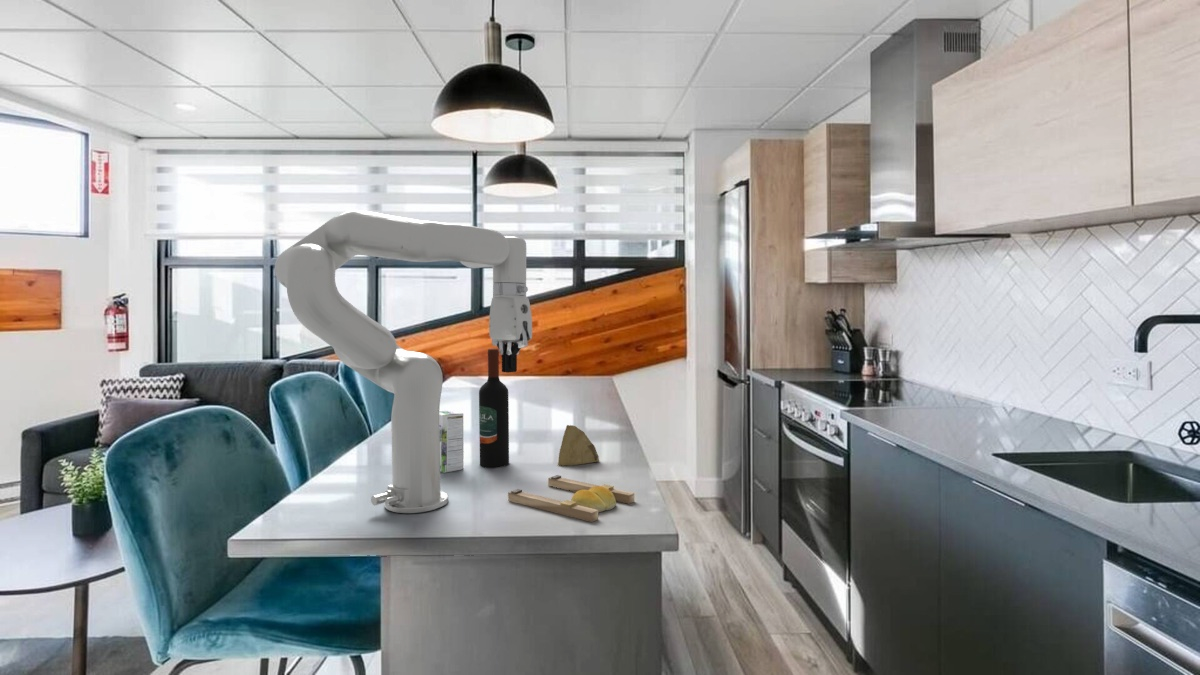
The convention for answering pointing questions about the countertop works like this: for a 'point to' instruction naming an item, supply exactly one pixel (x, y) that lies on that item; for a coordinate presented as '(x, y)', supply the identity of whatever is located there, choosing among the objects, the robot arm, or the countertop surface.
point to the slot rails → (567, 506)
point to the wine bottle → (493, 417)
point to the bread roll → (595, 498)
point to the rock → (576, 448)
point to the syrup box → (451, 441)
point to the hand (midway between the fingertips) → (509, 371)
